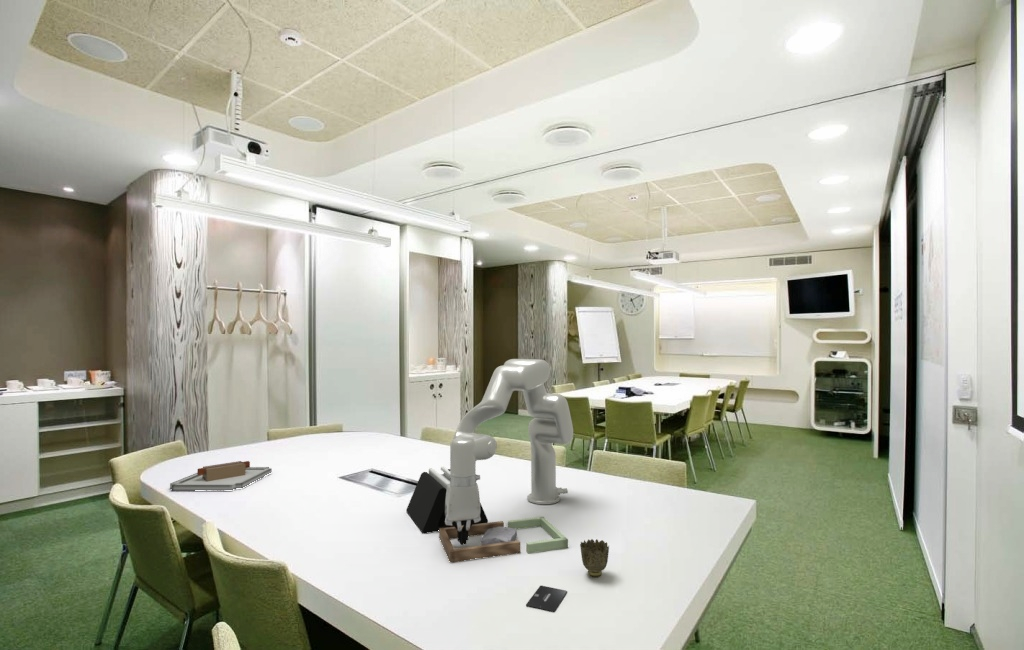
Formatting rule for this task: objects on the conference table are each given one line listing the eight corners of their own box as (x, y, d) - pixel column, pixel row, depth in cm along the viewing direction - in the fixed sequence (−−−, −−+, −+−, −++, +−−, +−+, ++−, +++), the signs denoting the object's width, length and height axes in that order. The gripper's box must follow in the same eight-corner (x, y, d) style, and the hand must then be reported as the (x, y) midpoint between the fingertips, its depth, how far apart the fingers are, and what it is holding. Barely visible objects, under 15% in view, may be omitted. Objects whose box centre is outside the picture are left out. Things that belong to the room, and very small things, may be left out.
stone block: (479, 557, 143) (512, 553, 141) (476, 540, 143) (509, 535, 141) (489, 542, 154) (519, 538, 153) (486, 527, 155) (516, 522, 153)
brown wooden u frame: (502, 530, 158) (502, 520, 158) (520, 552, 141) (520, 542, 141) (439, 538, 152) (439, 528, 152) (449, 562, 135) (449, 551, 135)
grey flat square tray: (237, 493, 201) (238, 474, 201) (165, 492, 202) (166, 474, 202) (274, 473, 231) (274, 457, 231) (211, 473, 232) (211, 457, 232)
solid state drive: (525, 607, 112) (525, 604, 112) (540, 587, 122) (540, 585, 122) (554, 614, 110) (554, 611, 110) (567, 593, 119) (567, 590, 119)
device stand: (422, 534, 155) (422, 487, 156) (406, 512, 176) (406, 470, 176) (487, 523, 165) (487, 478, 166) (465, 504, 185) (465, 464, 186)
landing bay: (543, 524, 163) (543, 516, 164) (568, 547, 144) (567, 539, 145) (507, 528, 160) (507, 520, 160) (528, 553, 141) (528, 544, 141)
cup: (577, 569, 131) (577, 539, 131) (604, 568, 131) (604, 538, 131) (584, 583, 123) (583, 550, 123) (612, 581, 124) (612, 549, 124)
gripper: (484, 475, 152) (484, 535, 151) (435, 479, 147) (435, 541, 146) (490, 481, 144) (490, 544, 144) (439, 486, 140) (439, 551, 139)
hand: (462, 542), depth 145 cm, fingers closed
